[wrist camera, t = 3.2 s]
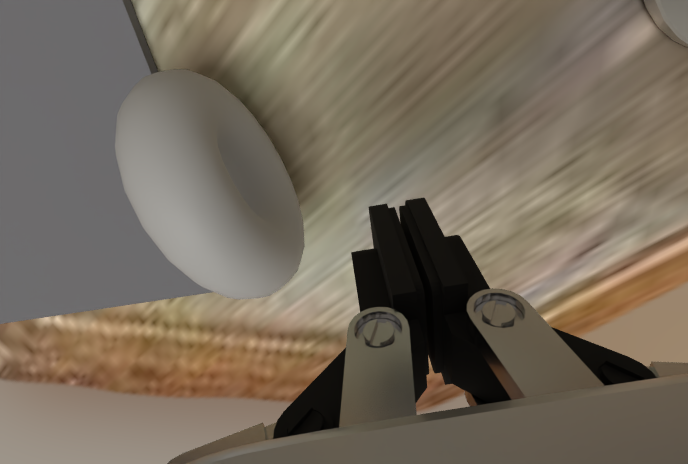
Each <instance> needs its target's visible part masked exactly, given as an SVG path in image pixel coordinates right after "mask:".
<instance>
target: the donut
mask: <svg viewBox="0 0 688 464" xmlns="http://www.w3.org/2000/svg"><path fill="white" fill-rule="evenodd" d="M115 151H116V158H117V162H118V166H119V170H120V174H121V178H122V182H123V186H124V190H125V193H126V195H127V197H128V199H129V201H130V203H131V205H132V207H133V209H134V211H135V213H136V215H137V217H138V219H139V221H140V223H141V225H142V227H143V228H144V230H145V231H146V232H147V234H148V235H149V236H150V237H151V239H152V240H153V241H154V243H155V244H156V245H157V246H158V248H159V249H160V250H161V252H162V253H163V254H164V255H165V257H166V258H167V259H168V260H169V261H170V262H171V263H172V264H173V265H175V266H176V267H177V268H178V269H179V270H181V271H182V272H183V273H184V274H185V275H187V276H188V277H189V278H190V279H191V280H193V281H194V282H195V283H197V284H198V285H200V286H202V287H204V288H206V289H208V290H211V291H213V292H215V293H218V294H220V295H222V296H225V297H227V298H233V299H252V298H261V297H266V296H270V295H272V294H273V293H275V292H276V291H278V290H279V289H281V288H282V287H283V286H284V285H285V284H286V283H287V282H288V281H289V280H290V279H291V278H292V277H293V276H294V274H295V273H296V272H297V270H298V267H299V264H300V261H301V258H302V254H303V250H304V228H303V218H302V214H301V210H300V205H299V201H298V198H297V195H296V192H295V190H294V187H293V184H292V181H291V179H290V177H289V175H288V172H287V170H286V168H285V166H284V164H283V162H282V159H281V158H280V156H279V154H278V152H277V151H276V149H275V147H274V145H273V144H272V142H271V140H270V138H269V137H268V135H267V134H266V133H265V131H264V130H263V128H262V127H261V125H260V124H259V123H258V121H257V120H256V118H255V117H254V116H253V115H252V114H251V113H250V111H249V110H248V109H247V108H246V107H245V106H244V105H243V104H242V102H241V101H240V100H239V99H238V98H236V97H235V96H234V95H233V94H232V93H230V92H229V91H228V90H227V89H225V88H224V87H223V86H222V85H220V84H219V83H218V82H217V81H215V80H213V79H210V78H208V77H206V76H203V75H201V74H199V73H196V72H193V71H190V70H187V69H173V70H167V71H161V72H156V73H153V74H151V75H148V76H145V77H143V78H142V79H141V80H140V81H139V82H138V83H137V84H136V85H135V86H134V87H133V89H132V90H131V91H130V93H129V94H128V96H127V97H126V99H125V100H124V101H123V103H122V105H121V107H120V109H119V112H118V114H117V124H116V138H115Z"/></svg>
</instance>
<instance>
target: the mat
mask: <svg viewBox="0 0 688 464" xmlns="http://www.w3.org/2000/svg"><path fill="white" fill-rule="evenodd" d="M156 72H158V71H157V68H156V66H155V63H154V60H153V58H152V55H151V53H150V50H149V47H148V45H147V42H146V40H145V37H144V34H143V32H142V29H141V27H140V24H139V21H138V19H137V16H136V14H135V11H134V8H133V6H132V3H131V1H130V0H0V324H2V323H9V322H16V321H22V320H29V319H36V318H43V317H49V316H56V315H63V314H69V313H76V312H83V311H89V310H96V309H103V308H110V307H116V306H123V305H130V304H136V303H143V302H150V301H157V300H163V299H170V298H177V297H183V296H190V295H197V294H203V293H210V292H213V291H211V290H208V289H206V288H204V287H202V286H200V285H198V284H197V283H195V282H194V281H193V280H191V279H190V278H189V277H188V276H187V275H185V274H184V273H183V272H182V271H181V270H179V269H178V268H177V267H176V266H175V265H173V264H172V263H171V262H170V261H169V260H168V259H167V258H166V257H165V255H164V254H163V253H162V252H161V250H160V249H159V248H158V246H157V245H156V244H155V243H154V241H153V240H152V239H151V237H150V236H149V235H148V234H147V232H146V231H145V230H144V228H143V227H142V225H141V223H140V221H139V219H138V217H137V215H136V213H135V211H134V209H133V207H132V205H131V203H130V201H129V199H128V197H127V195H126V193H125V190H124V186H123V182H122V178H121V174H120V170H119V166H118V162H117V158H116V151H115V138H116V124H117V114H118V112H119V109H120V107H121V105H122V103H123V101H124V100H125V99H126V97H127V96H128V94H129V93H130V91H131V90H132V89H133V87H134V86H135V85H136V84H137V83H138V82H139V81H140V80H141V79H142V78H143V77H145V76H148V75H151V74H153V73H156Z"/></svg>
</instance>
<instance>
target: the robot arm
mask: <svg viewBox="0 0 688 464" xmlns="http://www.w3.org/2000/svg"><path fill="white" fill-rule="evenodd" d="M644 3H645V6H646V9H647V10H648V12H649V14H650V15H651V17H652V18H653V20H654V22H655V23H656V25H657V26H658V28H659V29H661V30H662V31H663V32H664V33H665V34H666V35H667V36H669V37H670V38H671V39H672V40H673V41H675V42H677V43H679V44H681V45H684V46H686V47H688V0H644ZM399 211H400V221H399V218H398V215H397V213H396V210H395V208H394V207H393V208H388V206H387V204H382V205H376V206H370V207H369V214H370V222H371V229H372V237H373V245H374V249H368V250H362V251H356V252H351V254H352V260H353V267H354V273H355V280H356V287H357V293H358V300H359V306H360V313H359V314H357V315H356V316H355V317H354V318H353V319H352V321H351V322H350V324H349V327H348V332H347V343H346V348H345V349H344V350H343V351H342V352H341V353H340V354H339V355H338V356H337V357H336V358H335V359H334V360H333V361H332V362H331V363H330V364H329V366H328V367H327V368H326V369H325V370H324V371H323V372H322V373H321V374H320V375H319V376H318V377H317V378H316V379H315V380H314V381H313V382H312V383H311V384H310V385H309V386H308V387H307V388H306V389H305V390H304V391H303V392H302V393H301V394H300V395H299V396H298V397H297V398H296V400H295V401H294V402H293V403H292V404H291V405H290V406H289V407H288V408H287V409H286V410H285V411H284V412H283V414H282V415H281V416H280V418H279V419H278V421H277V422H276V423H274V424H271V425H268V426H266V427H265V426H264V424H263V423H261V424H258V425H255V426H253V427H250V428H248V429H245V430H242V431H240V432H237V433H234V434H232V435H229V436H227V437H224V438H221V439H219V440H216V441H214V442H211V443H208V444H206V445H203V446H201V447H198V448H195V449H193V450H190V451H188V452H185V453H183V454H181V455H179V456H177V457H175V458H174V459H172V460H170V461H169V462H168V463H167V464H688V363H673V362H651V364H650V367H646V366H644V365H643V364H642V363H640V362H638V361H636V360H634V359H632V358H630V357H628V356H625V355H622V354H620V353H617V352H615V351H612V350H609V349H607V348H604V347H602V346H599V345H596V344H594V343H591V342H589V341H586V340H583V339H581V338H578V337H576V336H573V335H571V334H568V333H565V332H563V331H560V330H558V329H555V328H552V327H550V326H549V324H548V323H547V322H546V321H545V320H544V319H543V318H542V317H541V316H540V315H539V314H538V312H537V311H536V310H535V309H534V308H533V307H532V306H531V305H530V304H529V303H528V302H527V301H526V300H525V299H524V298H523V297H521V296H520V295H518V294H516V293H514V292H512V291H508V290H504V289H493V288H492V289H490V288H489V286H488V284H487V282H486V281H485V279H484V277H483V275H482V274H481V272H480V270H479V268H478V267H477V265H476V263H475V261H474V260H473V258H472V256H471V255H470V253H469V251H468V249H467V248H466V246H465V244H464V242H463V241H462V239H461V237H460V236H459V235H454V236H448V237H444V235H443V233H442V231H441V229H440V227H439V225H438V223H437V221H436V219H435V217H434V215H433V213H432V211H431V209H430V207H429V206H428V204H427V202H426V200H425V198H418V199H412V200H406V202H405V206H400V207H399ZM400 223H401V224H400ZM428 355H429V358H430V361H431V365H432V368H433V371H434V373H440V372H441V373H442V376H443V379H444V382H445V385H446V384H454V385H456V386H458V387H459V388H461V389H463V390H465V397H466V400H467V402H468V404H469V406H470V407H465V408H458V409H452V410H446V411H439V412H433V413H426V414H420V415H417V414H416V402H417V400H418V399H419V398H420V396H421V395H422V394H423V392H424V391H425V390H426V388H427V377H426V375H428V374H429V363H428Z"/></svg>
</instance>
